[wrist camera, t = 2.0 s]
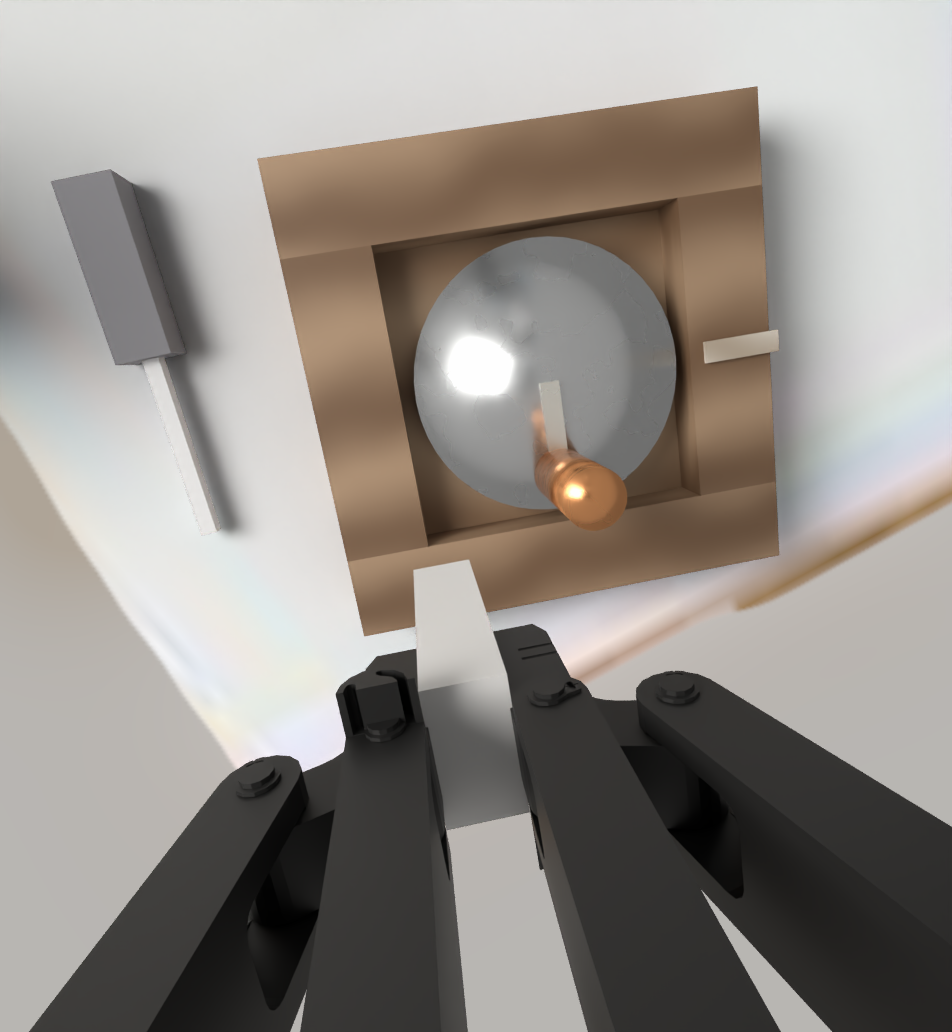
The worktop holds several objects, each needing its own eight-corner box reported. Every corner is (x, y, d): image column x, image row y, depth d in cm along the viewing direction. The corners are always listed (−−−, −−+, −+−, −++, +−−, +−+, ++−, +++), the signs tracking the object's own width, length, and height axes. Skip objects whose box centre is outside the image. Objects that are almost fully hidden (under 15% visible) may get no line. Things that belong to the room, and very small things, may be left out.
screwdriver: (78, 195, 30) (50, 181, 28) (132, 183, 30) (110, 169, 28) (194, 531, 35) (178, 544, 32) (241, 520, 35) (230, 531, 32)
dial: (391, 266, 30) (386, 232, 22) (648, 225, 31) (729, 180, 23) (437, 520, 33) (447, 568, 26) (670, 477, 34) (748, 511, 26)
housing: (277, 186, 31) (255, 156, 26) (717, 121, 32) (767, 82, 28) (368, 605, 36) (364, 638, 32) (742, 533, 38) (787, 555, 33)
